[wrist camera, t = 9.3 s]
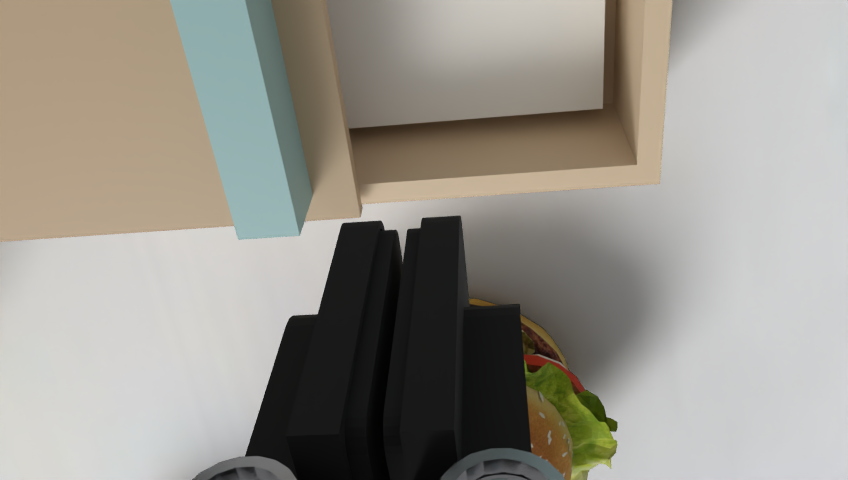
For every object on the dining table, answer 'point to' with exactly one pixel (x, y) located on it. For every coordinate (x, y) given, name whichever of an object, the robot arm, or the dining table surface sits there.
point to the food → (561, 408)
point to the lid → (170, 118)
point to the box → (501, 94)
